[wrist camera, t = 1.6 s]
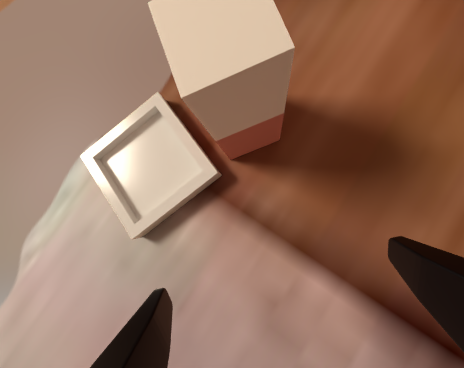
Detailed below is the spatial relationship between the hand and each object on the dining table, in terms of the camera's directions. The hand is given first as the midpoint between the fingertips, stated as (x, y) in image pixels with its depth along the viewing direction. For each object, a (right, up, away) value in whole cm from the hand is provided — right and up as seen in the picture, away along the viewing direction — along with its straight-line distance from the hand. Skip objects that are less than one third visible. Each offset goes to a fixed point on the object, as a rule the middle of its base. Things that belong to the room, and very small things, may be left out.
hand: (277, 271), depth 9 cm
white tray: (-10, +5, +14) cm, 18 cm away
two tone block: (0, +9, +13) cm, 16 cm away
